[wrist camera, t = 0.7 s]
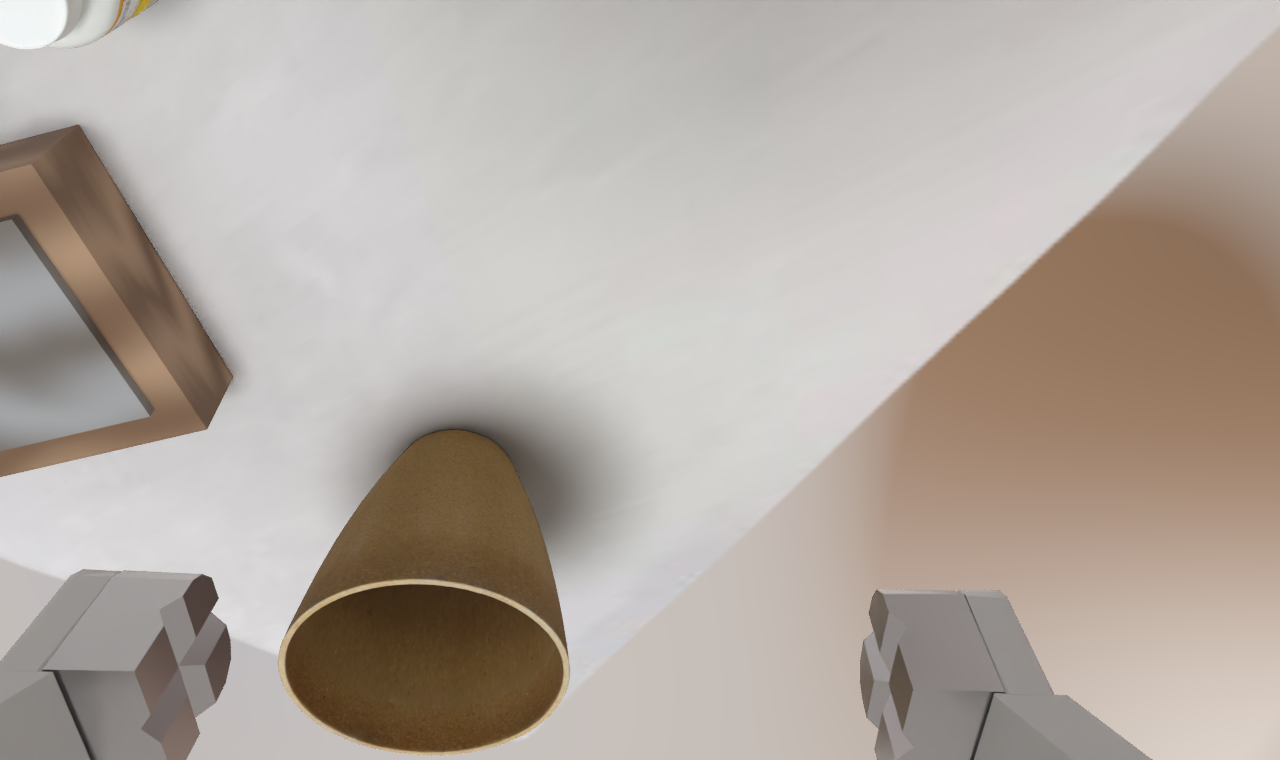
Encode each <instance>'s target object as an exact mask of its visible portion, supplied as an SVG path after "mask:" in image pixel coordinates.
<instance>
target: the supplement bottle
mask: <svg viewBox="0 0 1280 760" xmlns="http://www.w3.org/2000/svg"><path fill="white" fill-rule="evenodd" d="M156 1H158V0H0V44H3V45H6V46H9V47H12V48H17V49H26V50H31V49H39V48H43V47H46V46H48V47H53V48H77V47H81V46H85V45H88V44H91V43H93V42H95V41H97V40H98V39H100V38H102V37H104V36H105V35H107V34H108V33H110V32H111V31H113V30H114V29H116V28H118V27H119V26H121V25H122V24H123V23H125V22H126V21H128V20H129V19H131V18H133V17H134V16H136V15H137V14H139V13H140V12H142V11H143V10H145V9H147V8H148V7H150V6H151V5H152V4H154V3H155V2H156Z"/></svg>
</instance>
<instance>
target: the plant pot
mask: <svg viewBox="0 0 1280 760" xmlns="http://www.w3.org/2000/svg"><path fill="white" fill-rule="evenodd" d="M278 667H279V673H280V677H281V681H282V683H283V686H284V688H285V690H286V692H287V693H288V694H289V696H290V698H291V699H292V700H293V702H294V703H295V704H296V706H297V707H298V708H299V709H300V710H301V711H302V712H303V713H304V714H305V715H307V716H308V717H309V718H311V719H312V720H313V721H315V722H316V723H317V724H319V725H320V726H322V727H323V728H325V729H326V730H328V731H330V732H332V733H334V734H336V735H338V736H340V737H343V738H345V739H347V740H350V741H352V742H355V743H357V744H361V745H364V746H367V747H371V748H375V749H379V750H384V751H389V752H395V753H404V754H412V755H452V754H462V753H469V752H475V751H480V750H484V749H488V748H491V747H494V746H498V745H501V744H503V743H506V742H508V741H511V740H513V739H515V738H518V737H520V736H522V735H524V734H526V733H527V732H529V731H531V730H532V729H534V728H536V727H537V726H538V725H539V724H541V723H542V722H543V721H544V720H546V719H547V718H548V717H549V716H550V715H551V714H552V712H553V711H554V710H555V709H556V708H557V706H558V705H559V703H560V702H561V700H562V699H563V697H564V695H565V692H566V690H567V687H568V684H569V679H570V665H569V658H568V650H567V643H566V637H565V631H564V625H563V619H562V614H561V608H560V603H559V598H558V594H557V589H556V584H555V580H554V576H553V572H552V568H551V564H550V560H549V557H548V553H547V549H546V546H545V543H544V540H543V536H542V533H541V530H540V527H539V524H538V521H537V519H536V516H535V513H534V510H533V508H532V505H531V503H530V500H529V498H528V496H527V493H526V491H525V489H524V486H523V484H522V482H521V480H520V478H519V476H518V474H517V472H516V470H515V468H514V466H513V464H512V462H511V461H510V459H509V457H508V455H507V454H506V453H505V452H504V450H503V449H502V448H501V447H500V446H499V445H497V444H496V443H495V442H493V441H492V440H490V439H488V438H486V437H484V436H482V435H479V434H476V433H473V432H469V431H464V430H445V431H439V432H434V433H431V434H428V435H426V436H424V437H422V438H420V439H418V440H417V441H415V442H414V443H413V444H412V445H411V446H410V447H409V448H408V449H407V450H406V451H405V452H404V453H403V454H402V455H401V456H400V457H399V458H398V459H397V460H396V461H395V462H394V463H393V464H392V465H391V466H390V467H389V469H388V470H387V471H386V472H385V473H384V474H383V476H382V477H381V478H380V479H379V480H378V482H377V483H376V484H375V485H374V487H373V488H372V489H371V491H370V492H369V493H368V494H367V496H366V497H365V498H364V500H363V501H362V502H361V504H360V505H359V507H358V508H357V509H356V511H355V512H354V514H353V515H352V517H351V518H350V520H349V521H348V523H347V524H346V525H345V527H344V529H343V530H342V532H341V533H340V535H339V536H338V538H337V539H336V541H335V543H334V544H333V546H332V548H331V550H330V551H329V553H328V555H327V556H326V558H325V560H324V561H323V563H322V565H321V567H320V568H319V570H318V572H317V574H316V576H315V578H314V579H313V581H312V583H311V585H310V587H309V589H308V591H307V593H306V594H305V596H304V598H303V600H302V602H301V604H300V606H299V608H298V610H297V612H296V614H295V616H294V618H293V620H292V622H291V624H290V626H289V628H288V630H287V632H286V635H285V637H284V639H283V641H282V644H281V647H280V651H279V659H278Z"/></svg>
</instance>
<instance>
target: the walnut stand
mask: <svg viewBox="0 0 1280 760" xmlns="http://www.w3.org/2000/svg"><path fill="white" fill-rule="evenodd" d="M232 378H233V376H232V375H231V373H230V371H229V370H228V368H227V366H226V365H225V363H224V362H223V360H222V358H221V357H220V355H219V353H218V352H217V350H216V348H215V347H214V345H213V344H212V342H211V340H210V339H209V337H208V335H207V334H206V332H205V330H204V329H203V327H202V326H201V324H200V322H199V321H198V319H197V317H196V316H195V314H194V313H193V311H192V309H191V308H190V306H189V304H188V303H187V301H186V299H185V298H184V296H183V295H182V293H181V291H180V290H179V288H178V286H177V285H176V283H175V282H174V280H173V278H172V277H171V275H170V273H169V272H168V270H167V268H166V267H165V265H164V264H163V262H162V260H161V259H160V257H159V255H158V254H157V252H156V251H155V249H154V247H153V246H152V244H151V242H150V241H149V239H148V237H147V236H146V234H145V233H144V231H143V229H142V228H141V226H140V224H139V223H138V221H137V220H136V218H135V216H134V215H133V213H132V211H131V210H130V208H129V206H128V205H127V203H126V202H125V200H124V198H123V197H122V195H121V193H120V192H119V190H118V189H117V187H116V185H115V184H114V182H113V180H112V179H111V177H110V175H109V174H108V172H107V171H106V169H105V167H104V166H103V164H102V162H101V161H100V159H99V158H98V156H97V154H96V153H95V151H94V149H93V148H92V146H91V144H90V143H89V141H88V140H87V138H86V136H85V135H84V133H83V131H82V130H81V128H80V127H79V125H76V126H72V127H69V128H65V129H61V130H57V131H53V132H49V133H45V134H41V135H38V136H34V137H30V138H26V139H22V140H18V141H14V142H11V143H7V144H3V145H0V477H3V476H7V475H11V474H16V473H20V472H24V471H29V470H33V469H37V468H42V467H46V466H50V465H55V464H59V463H63V462H68V461H72V460H76V459H81V458H85V457H89V456H94V455H98V454H102V453H107V452H111V451H115V450H120V449H124V448H128V447H133V446H137V445H141V444H146V443H150V442H154V441H159V440H163V439H167V438H172V437H176V436H180V435H185V434H189V433H193V432H198V431H202V430H206V429H207V428H208V426H209V424H210V422H211V420H212V418H213V416H214V414H215V412H216V410H217V408H218V406H219V404H220V402H221V400H222V398H223V396H224V394H225V392H226V390H227V388H228V386H229V384H230V382H231V380H232Z"/></svg>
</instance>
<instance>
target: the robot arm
mask: <svg viewBox="0 0 1280 760" xmlns="http://www.w3.org/2000/svg"><path fill="white" fill-rule="evenodd" d="M218 599H219V598H218V595H217V592H216V589H215V586H214V583H213V580H212V578H211V577H208V576H206V575H203V574H189V573H167V572H146V571H125V570H124V571H105V570H87V569H83V570H81V571H79V572H77V573H75V574H73V575H71V576H70V577H69V578H68V579H67V580H66V582H65V583H64V584H63V585H62V587H61V588H60V589H59V590H58V592H57V593H56V594H55V595H54V596H53V598H52V599H51V600H50V601H49V602H48V604H47V605H46V606H45V607H44V608H43V610H42V611H41V612H40V613H39V615H38V616H37V617H36V618H35V619H34V621H33V622H32V623H31V624H30V626H29V627H28V628H27V629H26V630H25V632H24V633H23V634H22V635H21V637H20V638H19V639H18V640H17V642H16V643H15V644H14V645H13V646H12V648H11V649H10V650H9V651H8V652H7V654H6V655H5V656H4V658H3V659H2V660H1V661H0V760H186V759H187V757H188V755H189V753H190V751H191V750H192V748H193V746H194V744H195V742H196V739H197V738H198V736H199V734H200V732H199V729H198V726H197V722H196V719H195V717H197V716H198V715H199V714H201V713H202V712H203V711H205V710H206V709H207V708H209V707H210V706H212V705H213V704H215V703H216V701H217V699H218V697H219V695H220V693H221V691H222V689H223V687H224V685H225V683H226V679H227V675H228V670H229V665H230V661H231V643H230V637H229V633H228V629H227V625H226V624H224V623H223V622H222V621H221V620H220V619H219V618H217V617H216V616H215V615H214V614H213V613H211V611H212V609H213V607H214V606H215V604H216V602H217V600H218ZM869 616H870V619H871V623H872V627H873V630H874V632H872V633H871V634H870V635H869V636H868V637H867V638H865V639H864V641H863V647H862V654H861V660H860V662H861V663H860V684H861V691H862V699H863V704H864V708H865V712H866V717H867V718H868V719H869V720H870V721H871V722H872V723H873V724H874V725H875V726H876V727H877V728H878V729H879V731H878V735H877V740H876V745H875V753H876V757H877V760H1152V759H1150V758H1149V757H1148V756H1146V755H1145V754H1144V753H1143V752H1141V751H1140V750H1139V749H1137V748H1136V747H1134V746H1133V745H1132V744H1131V743H1129V742H1128V741H1127V740H1125V739H1124V738H1123V737H1121V736H1120V735H1119V734H1117V733H1116V732H1115V731H1113V730H1112V729H1111V728H1109V727H1108V726H1107V725H1106V724H1104V723H1103V722H1101V721H1100V720H1099V719H1098V718H1096V717H1095V716H1094V715H1092V714H1091V713H1090V712H1088V711H1087V710H1086V709H1084V708H1083V707H1082V706H1081V705H1079V704H1078V703H1077V702H1075V701H1074V700H1073V699H1071V698H1070V697H1069V696H1067V695H1054V692H1053V690H1052V688H1051V686H1050V684H1049V682H1048V680H1047V678H1046V676H1045V674H1044V672H1043V670H1042V668H1041V666H1040V664H1039V662H1038V660H1037V658H1036V656H1035V653H1034V651H1033V650H1032V647H1031V646H1030V643H1029V641H1028V639H1027V637H1026V635H1025V633H1024V631H1023V629H1022V627H1021V625H1020V623H1019V621H1018V619H1017V617H1016V615H1015V613H1014V610H1013V609H1012V606H1011V604H1010V602H1009V600H1008V598H1007V596H1006V595H1004V594H1003V593H1002V592H1001V591H1000V590H983V591H982V590H959V591H948V590H943V591H942V590H879V589H877V590H876V591H875V593H874V595H873V597H872V601H871V606H870V610H869Z"/></svg>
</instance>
